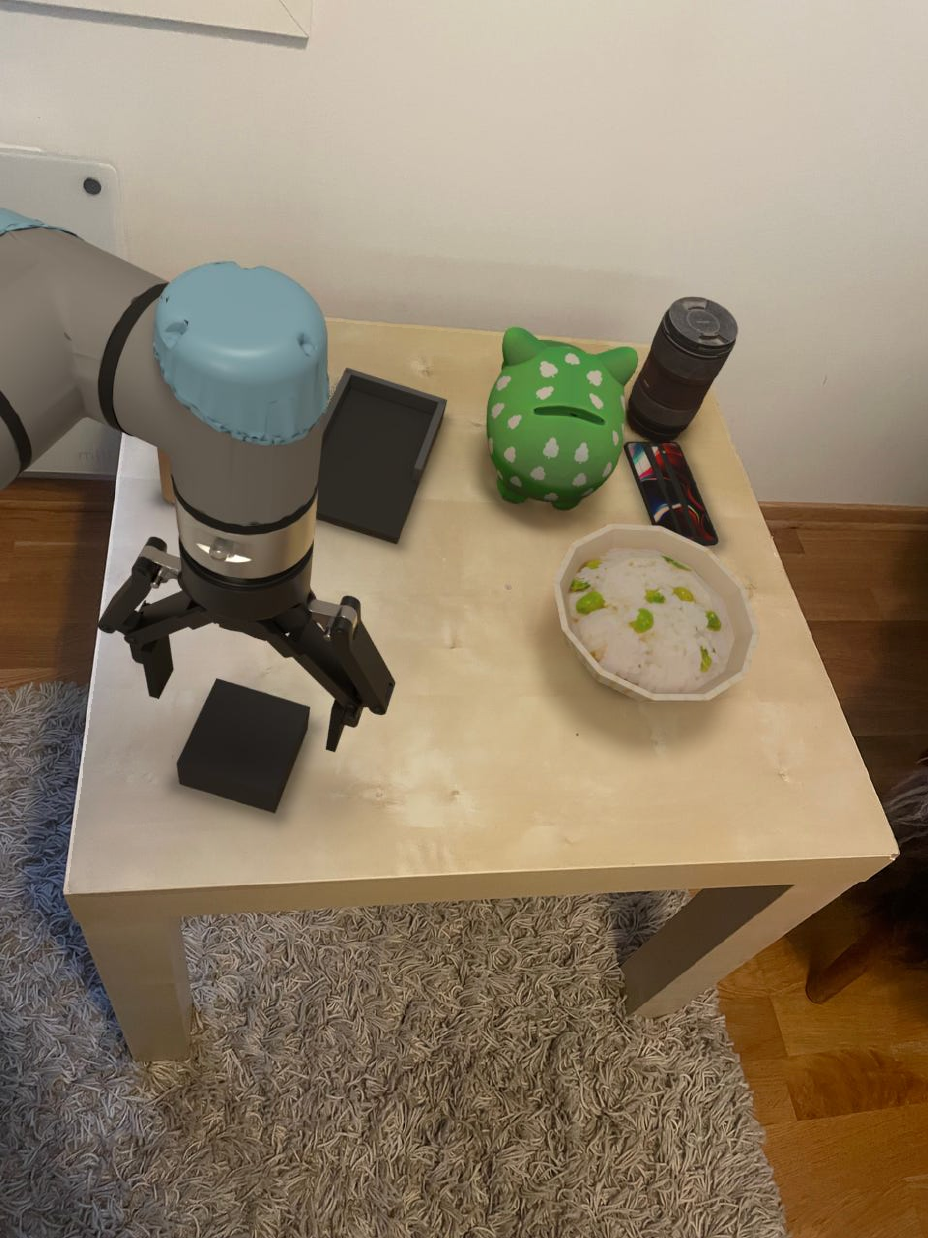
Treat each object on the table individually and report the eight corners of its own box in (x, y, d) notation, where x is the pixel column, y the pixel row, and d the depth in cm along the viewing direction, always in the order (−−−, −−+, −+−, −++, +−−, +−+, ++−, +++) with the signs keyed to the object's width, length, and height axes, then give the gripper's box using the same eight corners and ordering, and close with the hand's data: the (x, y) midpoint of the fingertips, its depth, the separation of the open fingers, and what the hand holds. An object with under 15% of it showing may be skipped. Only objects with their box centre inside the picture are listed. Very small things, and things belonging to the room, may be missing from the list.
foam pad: (179, 784, 74) (176, 763, 71) (217, 700, 79) (216, 677, 75) (275, 813, 74) (276, 794, 71) (307, 728, 79) (310, 706, 76)
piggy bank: (593, 418, 107) (638, 313, 95) (603, 541, 97) (655, 441, 85) (472, 398, 105) (503, 288, 93) (470, 522, 95) (504, 416, 83)
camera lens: (609, 400, 110) (655, 295, 97) (668, 395, 112) (720, 292, 100) (636, 451, 106) (687, 348, 93) (696, 444, 108) (754, 343, 96)
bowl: (496, 596, 90) (521, 533, 82) (662, 561, 97) (701, 500, 89) (577, 773, 82) (614, 721, 73) (753, 721, 88) (805, 668, 80)
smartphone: (661, 545, 98) (622, 440, 106) (659, 549, 99) (620, 444, 106) (721, 543, 100) (679, 440, 108) (719, 547, 101) (677, 444, 108)
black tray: (396, 544, 92) (401, 525, 89) (286, 509, 91) (287, 489, 89) (442, 419, 102) (447, 399, 100) (343, 387, 102) (346, 366, 100)
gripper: (-2, 514, 50) (64, 702, 67) (443, 650, 50) (394, 802, 67) (65, 421, 54) (111, 621, 71) (473, 547, 55) (420, 715, 72)
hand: (248, 709), depth 69 cm, fingers open, 13 cm apart
